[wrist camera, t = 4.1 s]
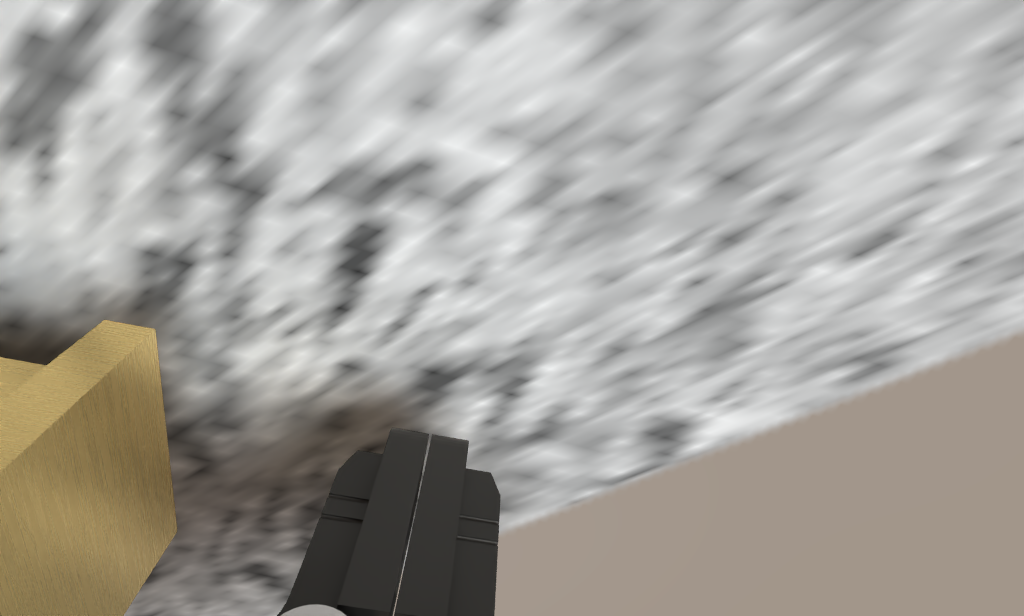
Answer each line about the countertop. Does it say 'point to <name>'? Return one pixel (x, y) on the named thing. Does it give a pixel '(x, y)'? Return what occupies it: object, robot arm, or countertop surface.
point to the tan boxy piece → (83, 476)
